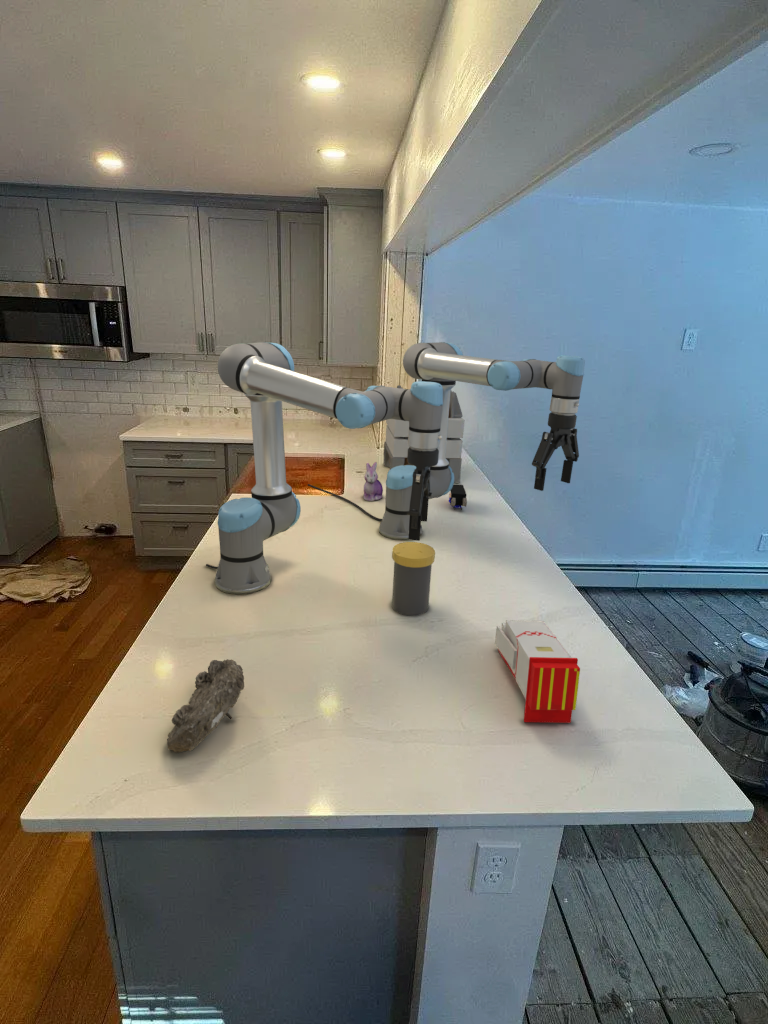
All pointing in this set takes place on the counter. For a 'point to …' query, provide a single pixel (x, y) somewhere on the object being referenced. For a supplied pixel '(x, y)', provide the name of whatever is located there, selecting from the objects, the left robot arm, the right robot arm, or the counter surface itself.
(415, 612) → the jar
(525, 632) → the toy
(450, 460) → the grey slatted crate
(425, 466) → the left robot arm
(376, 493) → the figurine
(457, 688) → the counter surface
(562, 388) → the right robot arm
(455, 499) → the figurine character
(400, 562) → the lid
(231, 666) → the fossil
